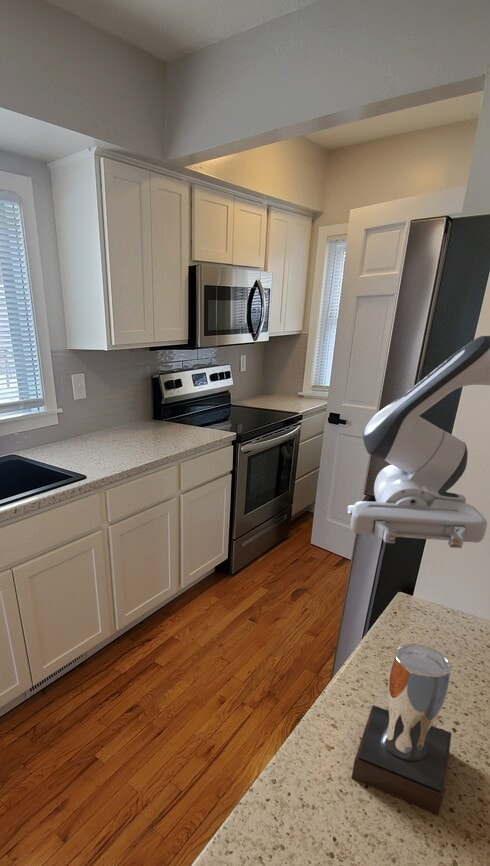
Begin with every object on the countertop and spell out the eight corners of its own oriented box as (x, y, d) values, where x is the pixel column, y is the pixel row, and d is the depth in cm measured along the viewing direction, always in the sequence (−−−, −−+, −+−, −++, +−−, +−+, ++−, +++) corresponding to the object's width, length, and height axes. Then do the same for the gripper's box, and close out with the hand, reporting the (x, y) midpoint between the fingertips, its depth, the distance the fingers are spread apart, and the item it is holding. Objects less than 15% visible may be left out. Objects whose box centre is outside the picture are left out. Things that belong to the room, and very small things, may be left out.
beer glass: (431, 734, 71) (452, 651, 65) (430, 771, 65) (453, 684, 59) (380, 718, 74) (395, 637, 68) (375, 752, 68) (391, 667, 62)
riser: (369, 722, 78) (372, 703, 77) (446, 750, 73) (452, 731, 71) (351, 778, 69) (354, 757, 68) (438, 815, 64) (444, 794, 62)
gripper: (348, 488, 88) (354, 517, 76) (474, 495, 83) (502, 527, 71) (344, 520, 91) (349, 553, 79) (466, 528, 86) (492, 565, 74)
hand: (423, 541), depth 75 cm, fingers open, 8 cm apart
